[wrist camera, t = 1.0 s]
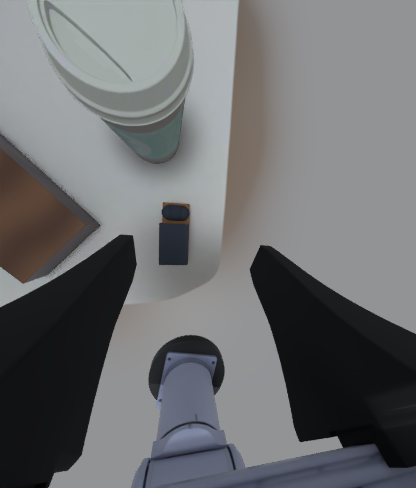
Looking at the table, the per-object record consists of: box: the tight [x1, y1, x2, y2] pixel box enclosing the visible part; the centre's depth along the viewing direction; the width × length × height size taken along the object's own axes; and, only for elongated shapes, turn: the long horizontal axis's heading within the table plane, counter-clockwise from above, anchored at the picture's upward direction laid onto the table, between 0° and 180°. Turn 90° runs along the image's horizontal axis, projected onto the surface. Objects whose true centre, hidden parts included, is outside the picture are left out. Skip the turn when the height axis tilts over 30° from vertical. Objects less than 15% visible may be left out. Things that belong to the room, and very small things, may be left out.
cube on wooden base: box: [159, 203, 190, 265], centre depth 19 cm, size 7×3×5 cm, turn 178°
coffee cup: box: [27, 0, 194, 163], centre depth 14 cm, size 8×8×12 cm
